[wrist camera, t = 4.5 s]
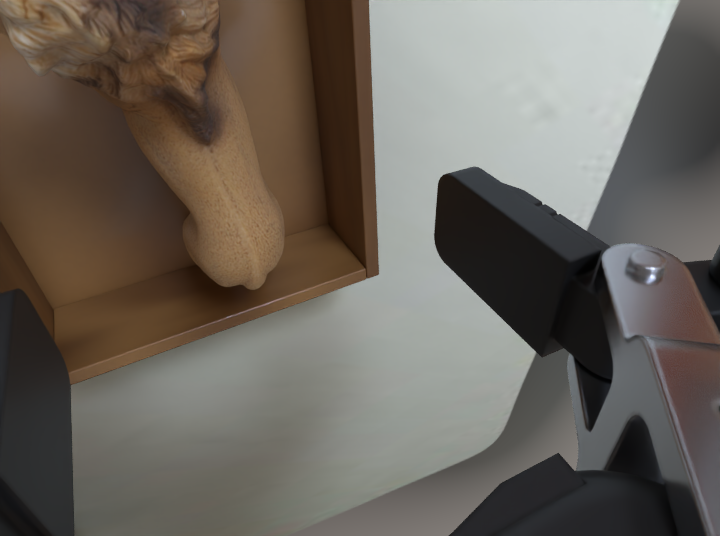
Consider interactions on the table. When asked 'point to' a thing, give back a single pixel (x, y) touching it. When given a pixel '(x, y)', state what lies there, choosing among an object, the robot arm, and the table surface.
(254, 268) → the lion figurine
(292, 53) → the brown wooden shallow box
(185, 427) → the table surface
